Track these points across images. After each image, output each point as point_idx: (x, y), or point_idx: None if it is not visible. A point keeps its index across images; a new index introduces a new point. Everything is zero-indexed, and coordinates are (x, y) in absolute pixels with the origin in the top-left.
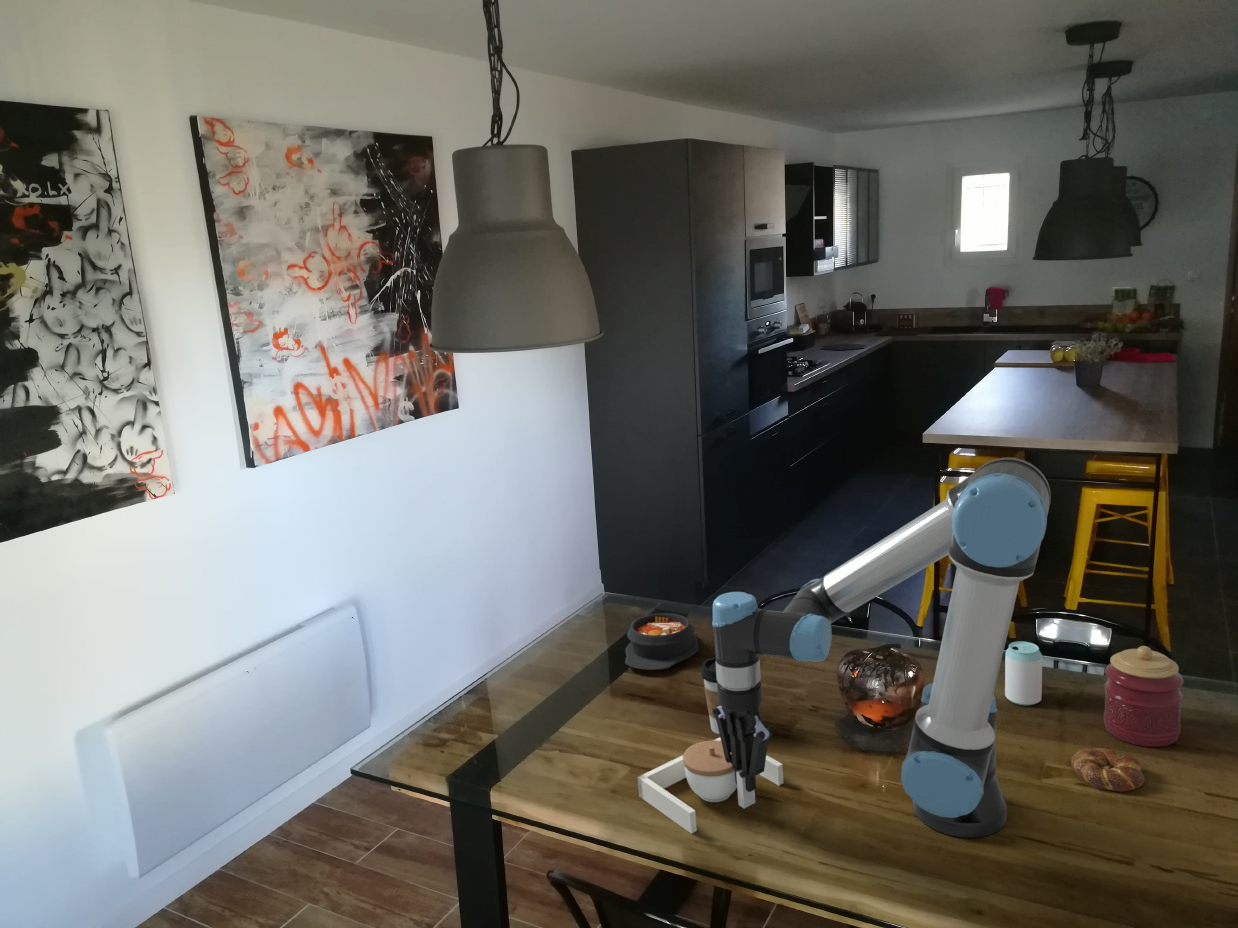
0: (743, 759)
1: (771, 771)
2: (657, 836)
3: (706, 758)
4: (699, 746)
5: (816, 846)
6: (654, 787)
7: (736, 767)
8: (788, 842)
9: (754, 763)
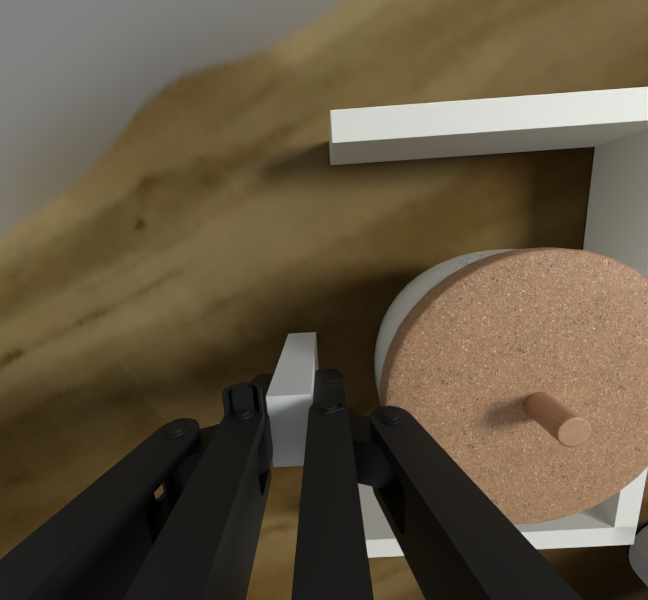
0: (219, 478)
1: (380, 508)
2: (391, 30)
3: (533, 361)
4: (646, 401)
5: (78, 387)
6: (591, 98)
7: (310, 411)
8: (130, 344)
9: (79, 502)
